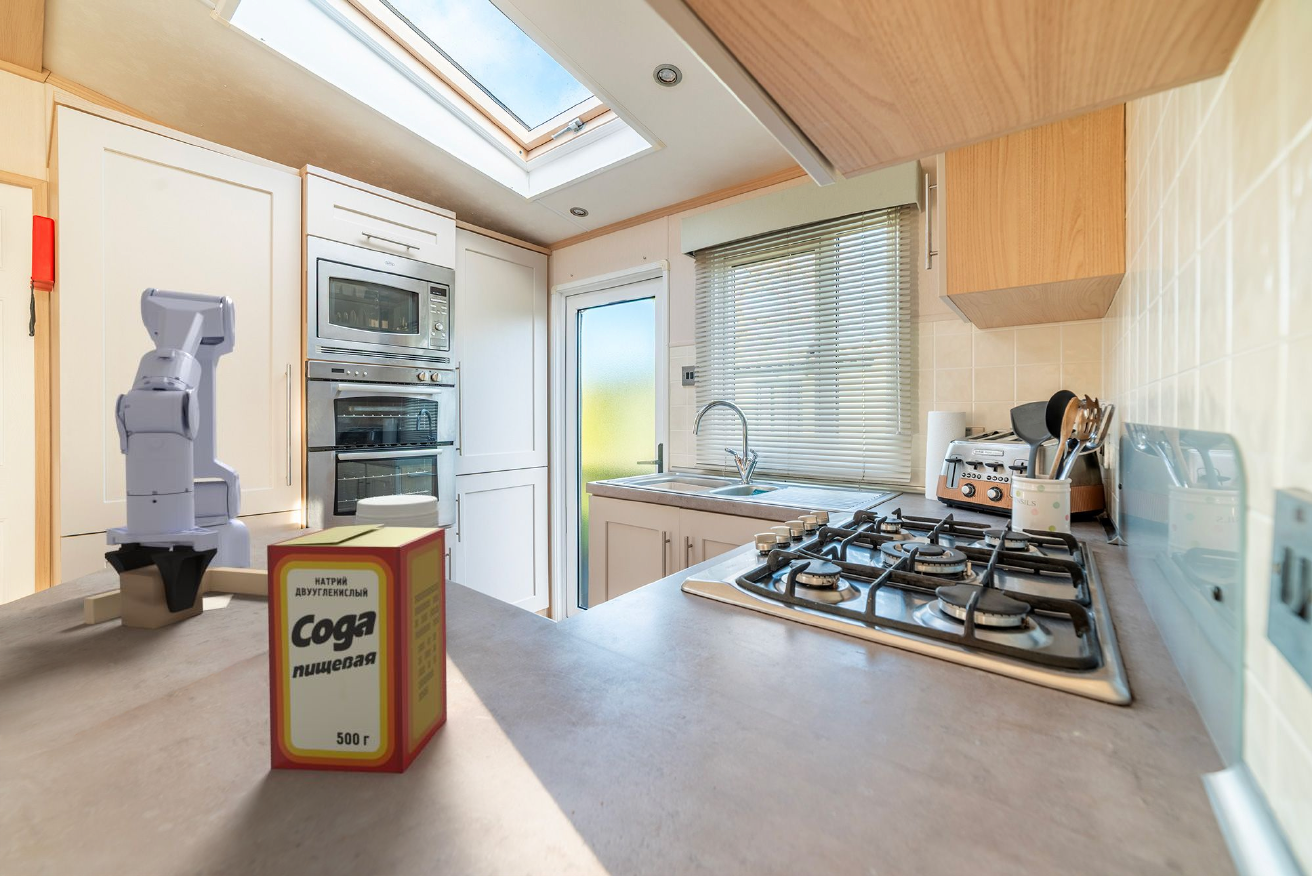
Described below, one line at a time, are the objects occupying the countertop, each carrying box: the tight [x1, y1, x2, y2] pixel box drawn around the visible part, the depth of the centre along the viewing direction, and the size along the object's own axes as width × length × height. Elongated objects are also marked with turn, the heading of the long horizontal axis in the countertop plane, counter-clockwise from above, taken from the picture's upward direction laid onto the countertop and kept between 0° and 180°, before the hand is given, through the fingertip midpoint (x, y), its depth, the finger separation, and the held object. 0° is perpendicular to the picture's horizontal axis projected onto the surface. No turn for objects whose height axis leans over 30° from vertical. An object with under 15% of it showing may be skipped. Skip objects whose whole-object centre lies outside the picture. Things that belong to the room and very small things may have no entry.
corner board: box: [83, 566, 268, 625], centre depth 64 cm, size 14×19×4 cm
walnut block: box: [118, 564, 204, 630], centre depth 60 cm, size 5×5×6 cm
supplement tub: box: [354, 494, 440, 528], centre depth 66 cm, size 10×10×15 cm
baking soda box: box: [266, 524, 448, 774], centre depth 39 cm, size 10×6×16 cm
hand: (163, 608), depth 60 cm, fingers closed on walnut block, 5 cm apart
